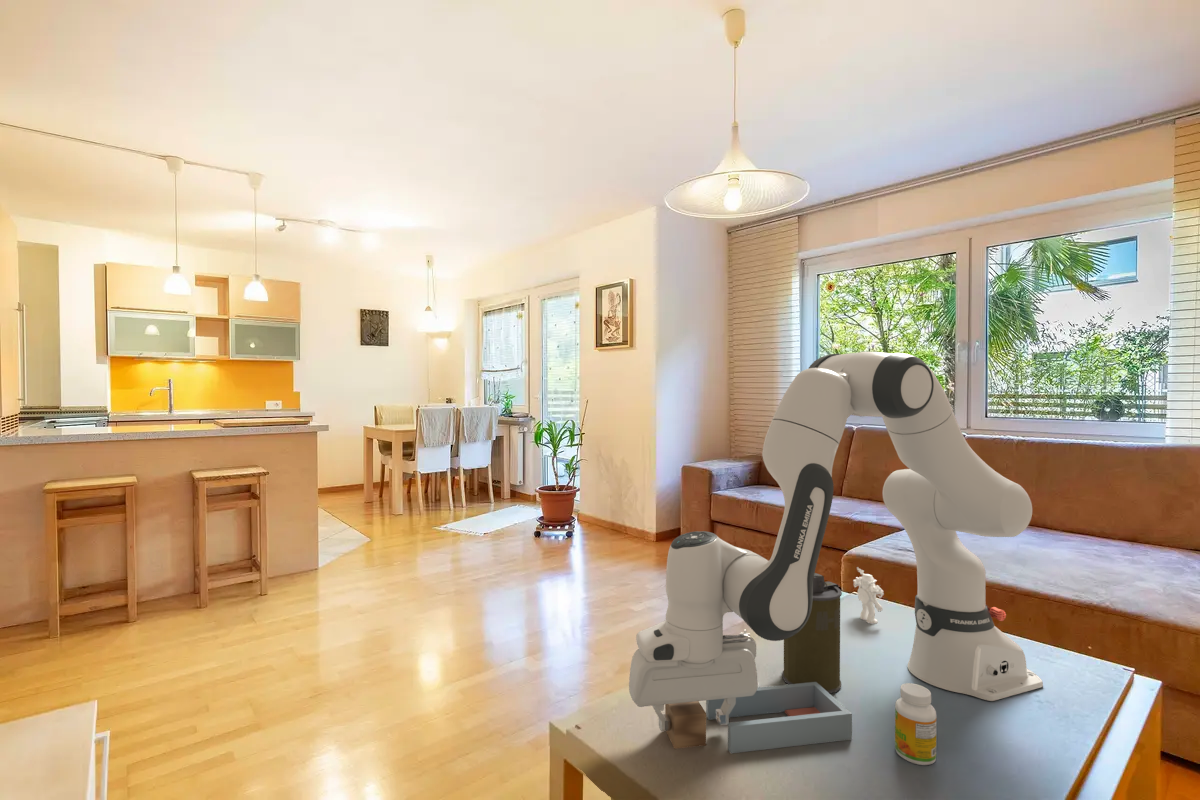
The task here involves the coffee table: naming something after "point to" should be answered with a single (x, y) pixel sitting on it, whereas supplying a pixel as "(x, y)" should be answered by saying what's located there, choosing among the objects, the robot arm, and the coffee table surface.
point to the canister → (817, 641)
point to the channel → (785, 718)
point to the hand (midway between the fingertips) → (693, 726)
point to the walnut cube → (686, 724)
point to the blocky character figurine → (868, 596)
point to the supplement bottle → (915, 725)
